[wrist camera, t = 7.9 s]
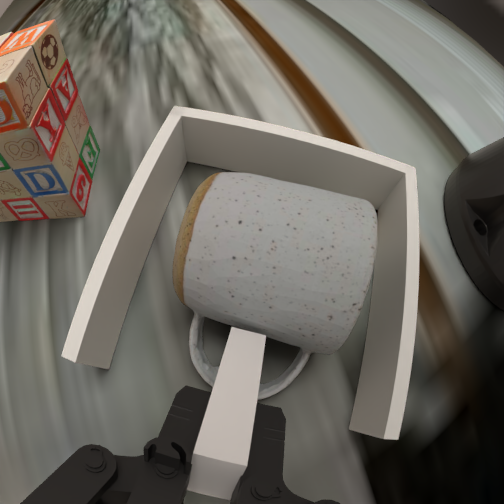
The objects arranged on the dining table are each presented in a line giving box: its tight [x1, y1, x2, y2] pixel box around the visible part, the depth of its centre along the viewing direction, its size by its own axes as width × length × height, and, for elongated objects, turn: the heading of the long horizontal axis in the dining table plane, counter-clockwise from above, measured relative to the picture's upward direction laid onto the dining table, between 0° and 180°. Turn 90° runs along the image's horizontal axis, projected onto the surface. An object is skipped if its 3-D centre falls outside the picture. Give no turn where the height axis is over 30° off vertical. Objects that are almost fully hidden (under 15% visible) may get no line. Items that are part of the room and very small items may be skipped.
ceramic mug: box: [173, 172, 378, 400], centre depth 15 cm, size 11×8×8 cm
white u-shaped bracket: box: [62, 106, 419, 440], centre depth 17 cm, size 16×16×4 cm
